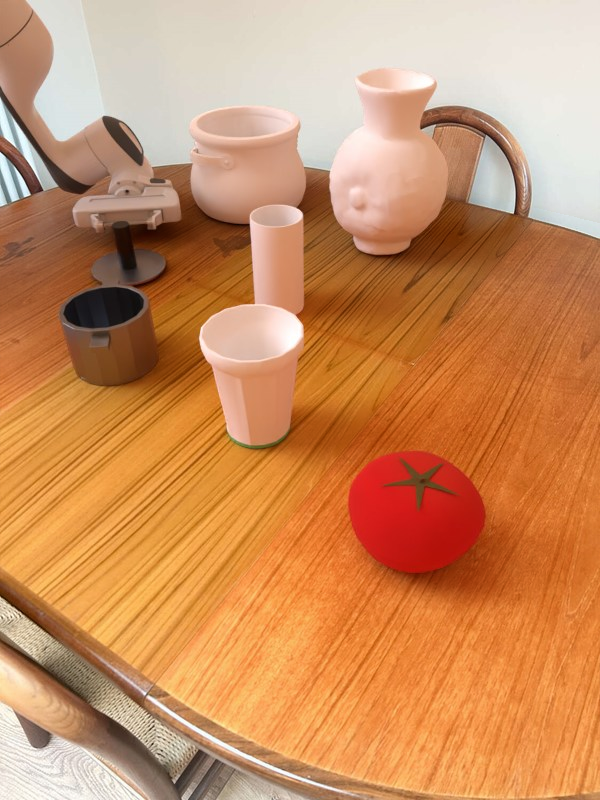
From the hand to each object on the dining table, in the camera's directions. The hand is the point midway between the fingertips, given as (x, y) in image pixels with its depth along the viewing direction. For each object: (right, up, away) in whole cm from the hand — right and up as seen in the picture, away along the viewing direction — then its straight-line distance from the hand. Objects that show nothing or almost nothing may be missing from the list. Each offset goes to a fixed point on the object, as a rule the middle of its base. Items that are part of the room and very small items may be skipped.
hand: (125, 227), depth 121 cm
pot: (+21, +10, +21) cm, 32 cm away
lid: (+1, -8, -1) cm, 8 cm away
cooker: (+5, -26, -22) cm, 34 cm away
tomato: (+44, -48, -48) cm, 81 cm away
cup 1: (+29, -16, -10) cm, 35 cm away
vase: (+48, -2, +6) cm, 49 cm away
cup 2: (+27, -36, -34) cm, 56 cm away
